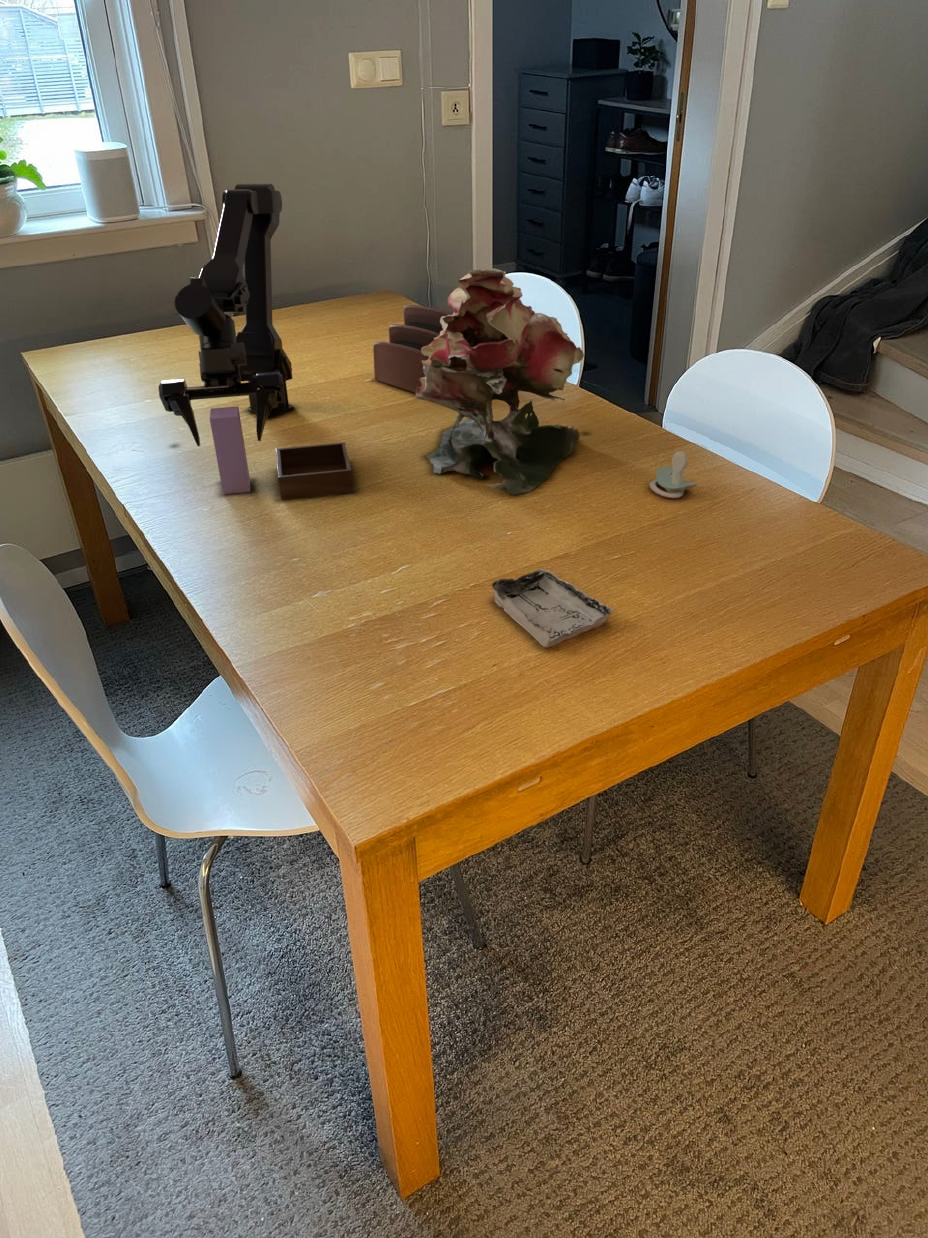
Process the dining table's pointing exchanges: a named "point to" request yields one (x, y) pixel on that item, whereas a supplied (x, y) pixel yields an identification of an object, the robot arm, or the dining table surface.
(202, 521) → the dining table surface
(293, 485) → the tray
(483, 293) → the rose bouquet
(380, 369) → the letter holder
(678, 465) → the pacifier
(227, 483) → the block
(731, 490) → the dining table surface
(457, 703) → the dining table surface
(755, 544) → the dining table surface
